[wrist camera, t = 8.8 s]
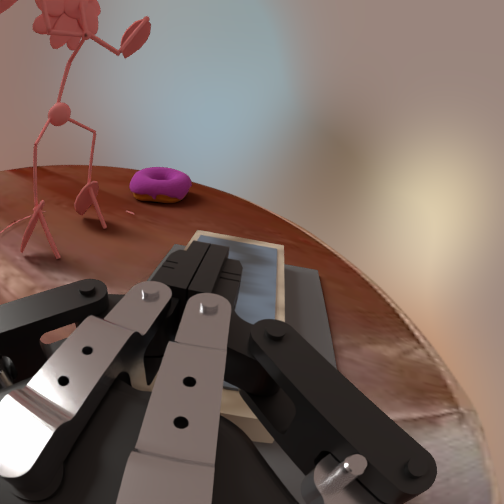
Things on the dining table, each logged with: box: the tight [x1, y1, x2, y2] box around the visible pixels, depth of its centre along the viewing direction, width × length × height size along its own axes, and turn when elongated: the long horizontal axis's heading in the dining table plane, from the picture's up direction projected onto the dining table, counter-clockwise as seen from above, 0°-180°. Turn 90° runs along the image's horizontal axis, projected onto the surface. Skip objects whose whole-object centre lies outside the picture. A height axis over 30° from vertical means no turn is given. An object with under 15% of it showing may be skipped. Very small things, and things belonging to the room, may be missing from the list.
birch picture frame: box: [184, 230, 285, 443], centre depth 21 cm, size 9×3×20 cm
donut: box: [130, 167, 192, 203], centre depth 48 cm, size 11×10×5 cm
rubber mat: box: [147, 244, 337, 504], centre depth 19 cm, size 28×16×1 cm, turn 175°
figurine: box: [0, 0, 151, 259], centre depth 23 cm, size 15×26×35 cm, turn 169°
